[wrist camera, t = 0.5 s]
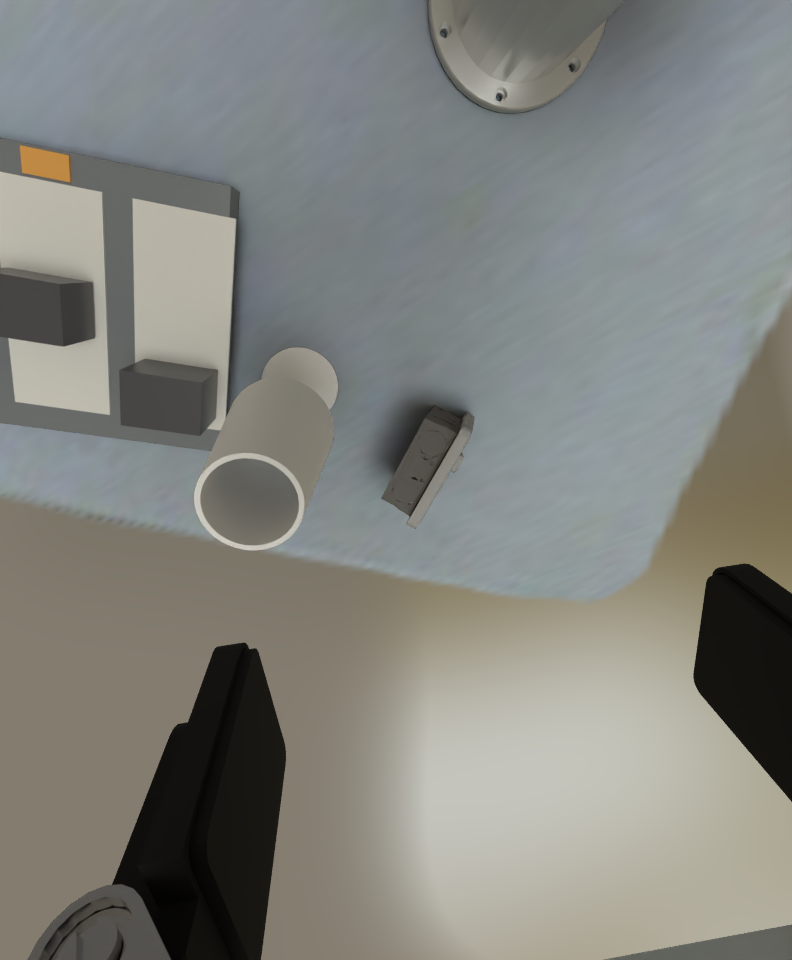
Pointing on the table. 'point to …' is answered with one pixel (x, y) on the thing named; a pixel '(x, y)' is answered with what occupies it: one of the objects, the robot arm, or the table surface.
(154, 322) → the breaker panel
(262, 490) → the champagne flute
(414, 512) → the electrical switch
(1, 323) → the block
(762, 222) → the table surface
